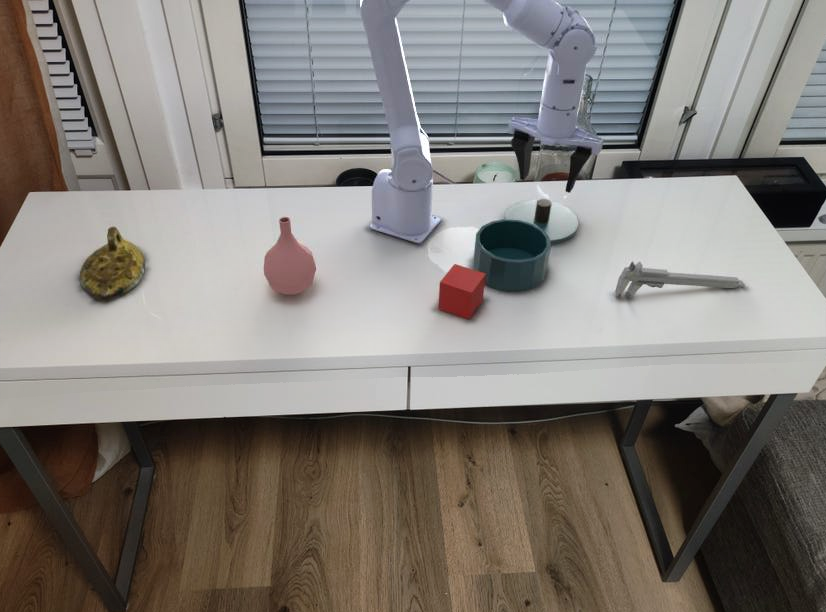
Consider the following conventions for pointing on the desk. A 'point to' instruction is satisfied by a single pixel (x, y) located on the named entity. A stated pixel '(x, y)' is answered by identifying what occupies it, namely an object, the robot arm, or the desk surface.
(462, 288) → the red block
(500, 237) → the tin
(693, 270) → the desk surface
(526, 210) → the lid
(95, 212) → the desk surface
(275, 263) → the pink vase
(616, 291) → the caliper
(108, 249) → the seal
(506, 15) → the robot arm
